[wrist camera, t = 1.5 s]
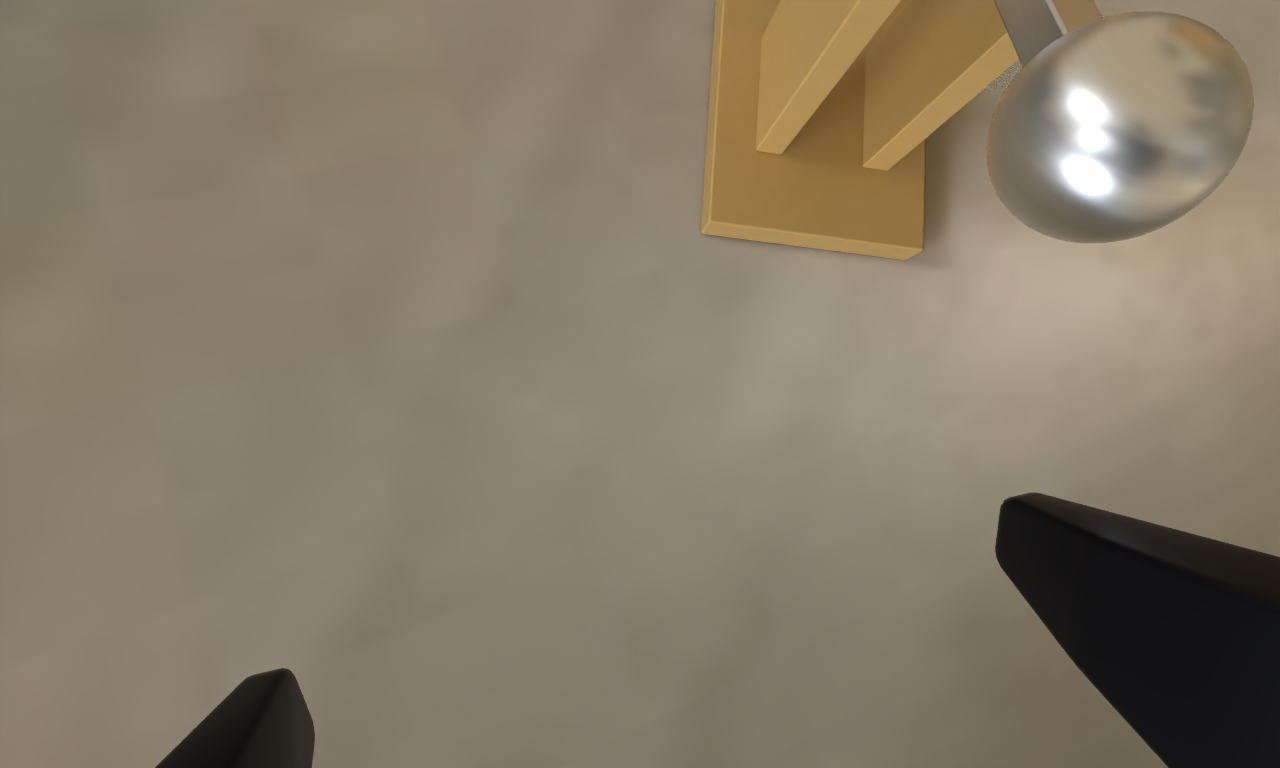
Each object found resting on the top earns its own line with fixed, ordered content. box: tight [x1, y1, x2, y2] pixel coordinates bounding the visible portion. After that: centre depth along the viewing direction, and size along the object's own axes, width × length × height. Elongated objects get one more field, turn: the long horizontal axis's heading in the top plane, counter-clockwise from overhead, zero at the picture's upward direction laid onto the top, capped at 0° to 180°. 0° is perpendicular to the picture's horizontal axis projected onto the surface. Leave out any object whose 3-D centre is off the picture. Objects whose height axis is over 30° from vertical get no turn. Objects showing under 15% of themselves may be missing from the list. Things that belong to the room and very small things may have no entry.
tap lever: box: [987, 0, 1254, 243], centre depth 13 cm, size 11×4×4 cm, turn 176°
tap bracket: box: [701, 0, 1019, 260], centre depth 19 cm, size 10×8×12 cm
